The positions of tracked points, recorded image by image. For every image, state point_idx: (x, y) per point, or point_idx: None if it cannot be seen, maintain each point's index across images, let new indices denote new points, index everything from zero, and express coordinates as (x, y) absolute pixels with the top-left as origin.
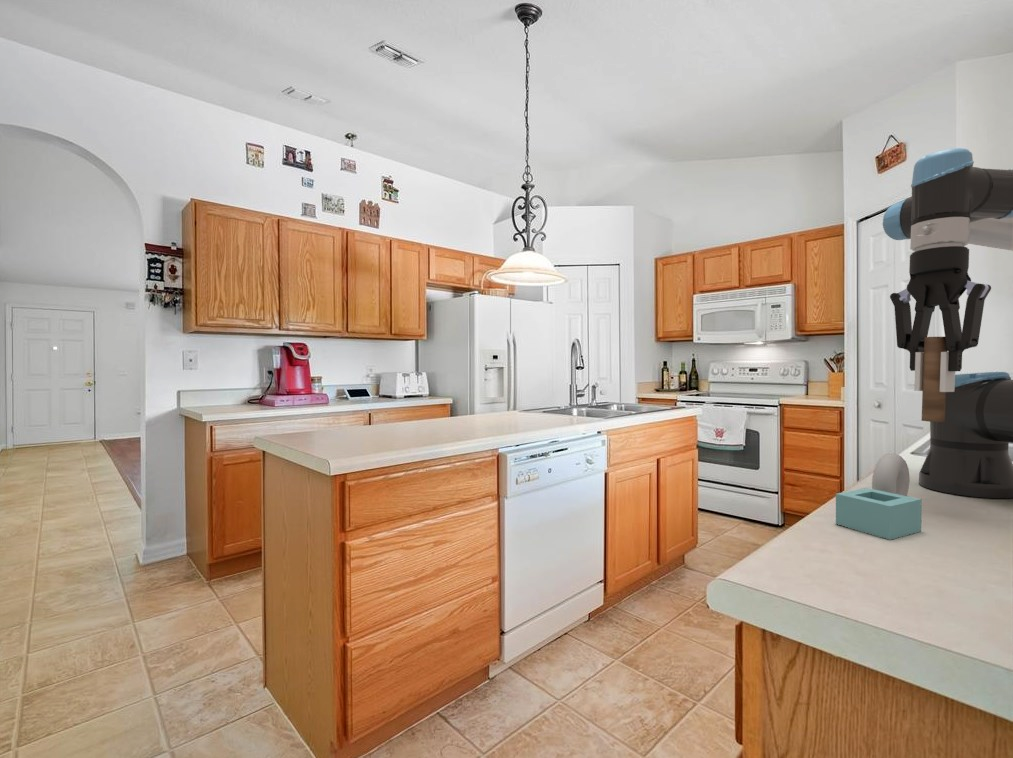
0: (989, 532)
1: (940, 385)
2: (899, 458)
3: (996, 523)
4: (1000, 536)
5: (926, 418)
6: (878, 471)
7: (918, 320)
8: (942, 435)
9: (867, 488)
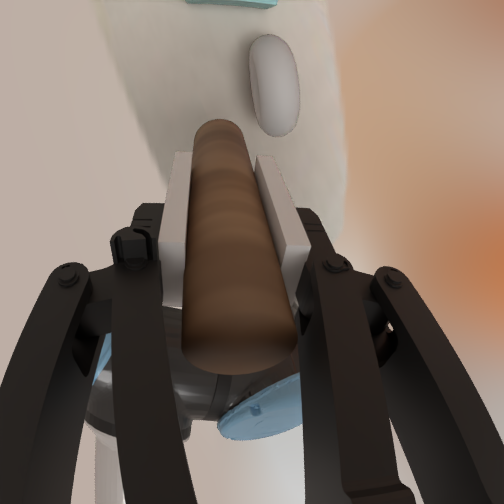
0: (136, 79)
1: (189, 162)
2: (266, 91)
3: (150, 132)
4: (121, 73)
5: (225, 122)
6: (280, 43)
7: (361, 422)
8: None
9: (273, 1)
